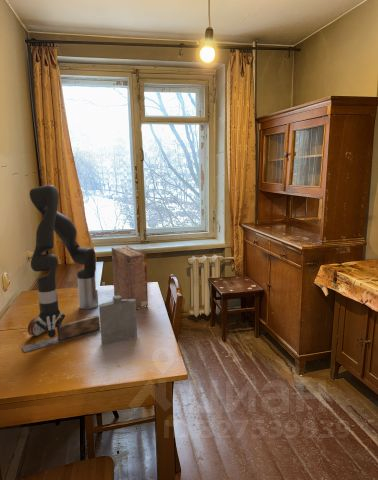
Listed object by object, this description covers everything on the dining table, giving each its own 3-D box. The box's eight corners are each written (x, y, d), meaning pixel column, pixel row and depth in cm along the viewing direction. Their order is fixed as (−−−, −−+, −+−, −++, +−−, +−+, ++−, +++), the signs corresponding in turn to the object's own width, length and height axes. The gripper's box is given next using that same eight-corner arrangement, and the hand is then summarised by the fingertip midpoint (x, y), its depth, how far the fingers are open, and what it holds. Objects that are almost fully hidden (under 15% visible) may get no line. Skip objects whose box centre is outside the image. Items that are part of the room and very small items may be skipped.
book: (114, 297, 208) (111, 247, 202) (128, 293, 213) (126, 245, 207) (132, 311, 188) (130, 256, 182) (148, 307, 193) (146, 253, 187)
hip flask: (102, 344, 152) (99, 301, 148) (100, 340, 156) (97, 298, 152) (138, 337, 159) (136, 295, 155) (135, 333, 162) (133, 292, 158)
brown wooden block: (97, 326, 169) (96, 314, 168) (100, 329, 166) (99, 317, 164) (57, 337, 158) (56, 324, 157) (60, 340, 155) (59, 328, 154)
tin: (51, 324, 173) (49, 308, 171) (56, 325, 172) (55, 309, 170) (28, 338, 159) (26, 321, 157) (33, 339, 158) (31, 322, 156)
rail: (102, 325, 171) (102, 324, 171) (106, 329, 167) (106, 328, 167) (21, 347, 151) (21, 346, 150) (24, 352, 147) (24, 351, 146)
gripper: (61, 293, 158) (64, 329, 162) (29, 300, 151) (34, 337, 154) (66, 298, 152) (69, 335, 156) (33, 306, 145) (37, 344, 148)
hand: (51, 336), depth 155 cm, fingers closed
